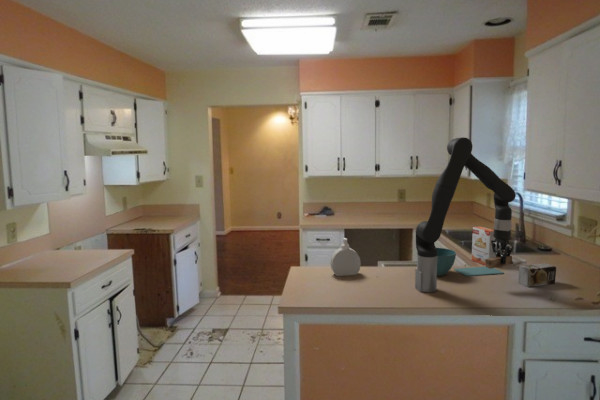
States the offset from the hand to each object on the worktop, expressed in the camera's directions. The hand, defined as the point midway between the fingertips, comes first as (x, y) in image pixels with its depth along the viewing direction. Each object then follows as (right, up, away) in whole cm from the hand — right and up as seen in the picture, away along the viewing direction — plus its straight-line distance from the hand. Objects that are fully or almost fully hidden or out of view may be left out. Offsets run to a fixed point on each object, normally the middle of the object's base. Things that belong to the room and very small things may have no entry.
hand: (500, 263), depth 192 cm
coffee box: (+13, -7, +3) cm, 15 cm away
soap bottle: (-72, -11, +26) cm, 78 cm away
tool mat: (+1, -9, +26) cm, 27 cm away
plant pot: (-22, -10, +25) cm, 35 cm away
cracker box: (+11, -7, +41) cm, 43 cm away
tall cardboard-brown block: (+2, -1, 0) cm, 3 cm away
